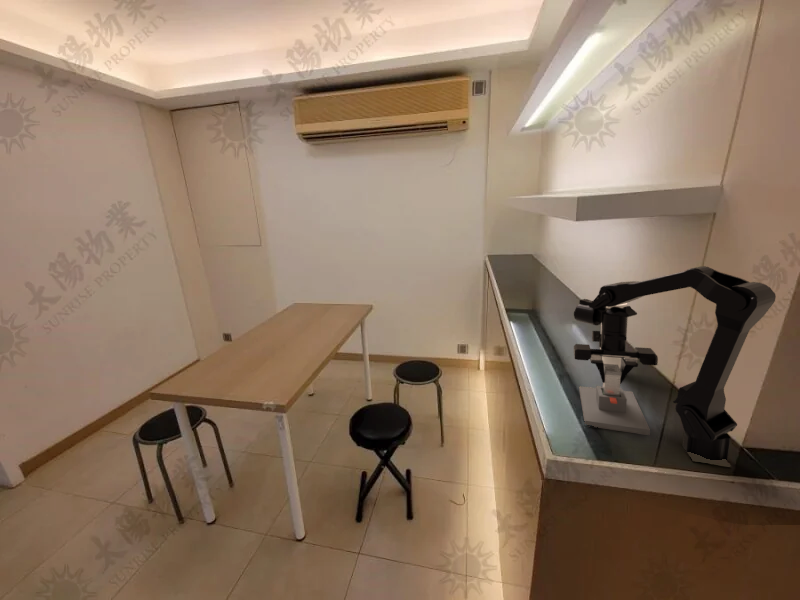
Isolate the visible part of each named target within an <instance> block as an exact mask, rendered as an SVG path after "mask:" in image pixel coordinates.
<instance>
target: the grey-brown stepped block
mask: <svg viewBox="0 0 800 600" xmlns="http://www.w3.org/2000/svg"><path fill="white" fill-rule="evenodd" d="M604 375H605V381H604V383H603V382H602V387H603V390H602V393H603V395H607V396H616V397H619V396H620V388H621V384H620V378H621V370H620V368H619V366H618V365H614V364H604Z"/></svg>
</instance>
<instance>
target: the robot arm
mask: <svg viewBox="0 0 800 600" xmlns="http://www.w3.org/2000/svg"><path fill="white" fill-rule="evenodd" d="M686 288H691V289H693V290H695V291H696V292H697V293H699V294H700V296H702V297H703V298H704V299H705V300H707V301H710V302H712V303H713V304H715V311H714V314H715V318H716V323H717V324H716V325H717V326H716V329H715V331H714V333H713V337H712V339H711V342H710V343H709V346H708V349H707V351H706V354H705V356H704V358H703V362H702V364H701V366H700V368H699V371H698V374H697V376H696V378H695V380H694V381H693V382H690V383H687V384H685V385H682V386H680V387H679V389H678V391H677V396H676V398H675V400H673V401H672V402H673V403H674V404H675V412H676V413H677V415H678V416H679V418H680V421H681V424H682V427H683V430H684V431H683V438H682V443H683V445H682V447H683V450H684V449H685V450H686V451H685V450H684V451H685V453H686V452H691V453H694V454H697V455H700V456H702V457H704V458H706V459H710V460H722V459H726V460H728V461H729V453H730V446H731V436H730V435H729V434H728V433H730V432H733V431H734V429H736V428H737V426H738V423H737V421H735V420H734V418H733V417H732V416H731V415H730V413H728V412H727V410H726V409H725V407H726V401H727V399H726V394H725V386H726V384H727V382H728V380H729V377H730V375H731V373H732V371H733V369H734V367H735V364H736V361H737V359H738V357H739V355H740V353H741V351H742V348H743V346H744V344H745V342H746V340H747V337H748V335H749V332H750V331H751V329H752V328H753V327H754V326H755V325H757V323H759V321H761V320H762V319H763V318H764V317H765V315H766V314H767V312H768V311H769V310H770V309H771V308H772V307H773V305H774V303H775V302H776V293H775V291H773V290H772V288H771V287H770V286H768V285H767V284H764V283H762V282H757V281H748V280H746V279H743V278H741V277H738V276H735V275H730V274H728V273H725V272H724V273H723V272H721V271H718V270H716V269H714V268H711V267H709V266H704V265H703V266H701V265H700V266H697V267H690V268H688V269H686V270H684V271H680V272H675V273H670V274H667V275H662V276H658V277H653V278H649V279H645V280H641V281H637V280H635V281H634V280H633V281H621V282H615V283H610V284H606V285H602V286H601V287H600V288H599V291H598V294H597V296H596V297H595V298H594V299H593V300H590V299H586V298H582V299H579V301H578V303H579V304H577V305H576V307H575V309H574V311H573V317H574V319H575V320H576V321H577V322H579V323H583V324H589V325H593V326H599V325H600V326H601V323H602V330H601V329H600V330H592V332H591V333H592V334H591V341H592V342H594V343H595V342H597V343H598V347H599V349H598V348H591V347H590V344H585V343H583V344H582V343H576V344H574V345H573V357H574V360H577V361H590V364H593V365H595V366H596V368H597V370H598V372H599V375H600V379H601V381H602V384H603V383H604V381H605V375H604V363H603V360H602V356H603V357H618V358H621V367H620V370H621V378H620V385H622V383H623V382H624V380H625V378H626V377H627V376H628V374H629V373H630V372H631V371H632V370H633V369H634V368H638V367H639V363H638V362H640V363H641V364H642V365H645V366H658V365H659V364H658V362H659V357H658V355H657V354H656V352H655V351H654V349H652V347H638V346H637V347H634V350H627V336H628V320H629V319H628V318H629V317H633V316H637V315H638V313H637V311H635V310H634V309H633V308H632V307H631V306H630V305H627V306H626V307H623V308H620V307H612V306H616V305H620V304H624V303H627V304H628V303H630V302H634V301H636V300H639V299H640V298H643V297H646V296H650V295H654V294H655V295H656V294H660V293H666V292H671V291H677V290H682V289H686ZM606 306H607V307H611V308H606ZM600 347H601V349H600Z"/></svg>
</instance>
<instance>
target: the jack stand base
mask: <svg viewBox="0 0 800 600" xmlns="http://www.w3.org/2000/svg"><path fill="white" fill-rule="evenodd" d="M578 390H579V397H580V403H581V409H582V414H583V421H585V422H584V425H585V424H587V425H592V426H594V427H593V428H597V427H598V428H599V429H606V430H611V431H617V432H618V431H619V432H625V433H632V434H638V435H645V436H646V435H647V436H650V434H651V429H650V426H649V425H648V422H647V420H646V418H645V416H644V414H643V411H642V410H641V407H640V405H639V403H638V400H637V398H636V397H635V395H634V392H633V391H627V390H623V388H621V387H620V396H619V397H616V396H607V395H603V393H602V390H603V385H602V386H601V385H596V387H590V386H579V389H578ZM598 428H597V429H598Z"/></svg>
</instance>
